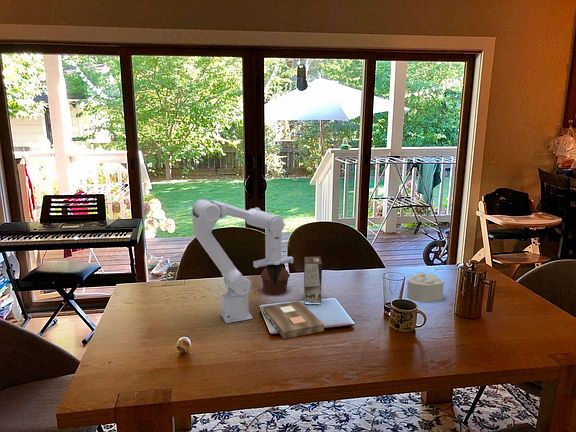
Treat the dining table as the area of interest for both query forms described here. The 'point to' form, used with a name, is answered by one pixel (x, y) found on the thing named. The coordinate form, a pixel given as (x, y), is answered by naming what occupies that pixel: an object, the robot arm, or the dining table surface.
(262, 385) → the dining table surface
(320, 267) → the coffee box
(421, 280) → the lumpy-topped squat cylinder
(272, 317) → the key block
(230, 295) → the robot arm
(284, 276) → the muffin
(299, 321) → the terracotta key
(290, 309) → the cream small block
